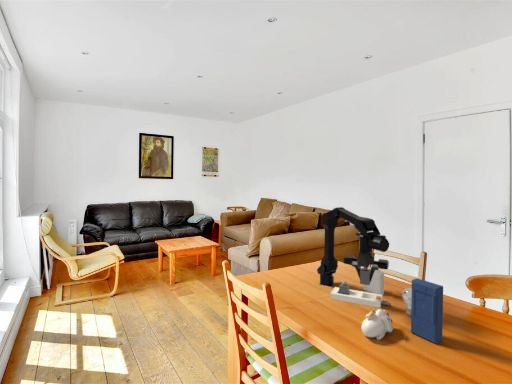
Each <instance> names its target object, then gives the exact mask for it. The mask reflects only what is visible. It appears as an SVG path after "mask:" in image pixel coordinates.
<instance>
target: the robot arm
mask: <svg viewBox="0 0 512 384" xmlns="http://www.w3.org/2000/svg"><path fill="white" fill-rule="evenodd" d="M341 219H343V220H345V221H346V222H348V223H350V224H352V225H353V226H354V228H355V229H356V230H357V231H358V232H356V233H355V236H358V239H359V241H358V242H359V243H358V244H359V245H358V247H359V248H358V254H357V257H355V255H350V254H346V255H345V256H344V257H343V264H345V265H351V267H354V269H355V270H356V273H357V277H358V278H359V280H360V270H361V269H362V267H366V268H371V274H370V281H371V280H372V277H373V274H374V272H375V270H388V269H389V266H390V265H389V264H390V261H389V260H387V259H380V258H379V259H378V260H375V256H373V250H376V251H379V252H382V253H385V252H387V251H388V250H389V247H390V242H389V239H387V238H386V235H384V234H382V235H381V233H380V230H379V228H378V226H377V225H376V222H375V220H374V219H373V218H369V217H364V216H359V215H358V214H356V213H354V212H352V211H350V210H347V209H345V208H344V207H342V206H339V207H334V208H332V209H331V210H329V211H326V212H323V214H322V215H321V224H322V226H323V228H324V252H323V253H324V255H323V257H322V258H321V261H320V265H319V266H318V268H317V269H316V271H317V274H318V275H319V285H320V286H327V287H332V286H333V285H334V284H335V277H334V274H336V273H337V269H338V267H339V265H338V262H339V260H338V259H337V258H336V257H335V229H336V228H337V226H338V223H339V220H341Z"/></svg>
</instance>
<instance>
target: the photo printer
mask: <svg viewBox="0 0 512 384" xmlns="http://www.w3.org/2000/svg"><path fill="white" fill-rule="evenodd" d="M368 269H371V267H368ZM362 285H363V290H364V291H365V292H368V293H374V294H380V295H382V296H383V295H385V273H384V271H382V270H381V269H378V270H375V272H374V274H373V277H372V280H371V283H370V285H365V284H362Z"/></svg>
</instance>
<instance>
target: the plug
mask: <svg viewBox="0 0 512 384" xmlns="http://www.w3.org/2000/svg"><path fill="white" fill-rule="evenodd" d="M368 268H369V267H368ZM368 268H366V267H363V268H362V267H361V270H360V279H359V284H360V285H363V284H365V285H370V283H371V281H370V274H371V269H368Z"/></svg>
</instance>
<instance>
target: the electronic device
mask: <svg viewBox="0 0 512 384" xmlns="http://www.w3.org/2000/svg"><path fill="white" fill-rule="evenodd" d="M411 287H412V288H411V289H412V298H411V316H410V332H411V333H412V334H415V335H416V336H418V337H421V338H423V339H425V340H427V341H429V342H431V343H434V344H436V345H438V344H439V343H441V342H443V326H444V325H443V324H444V323H443V319H444V318H443V317H444V286H443V285H440V284H438V283H435V282H431V281H427V280H424V279H420V278H414V279H412V280H411Z"/></svg>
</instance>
